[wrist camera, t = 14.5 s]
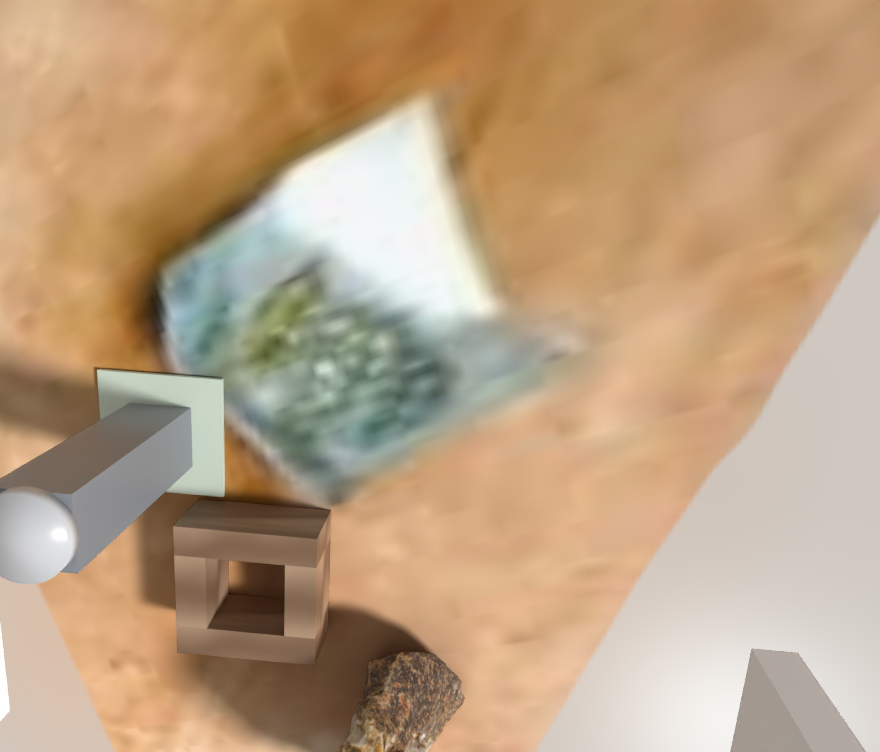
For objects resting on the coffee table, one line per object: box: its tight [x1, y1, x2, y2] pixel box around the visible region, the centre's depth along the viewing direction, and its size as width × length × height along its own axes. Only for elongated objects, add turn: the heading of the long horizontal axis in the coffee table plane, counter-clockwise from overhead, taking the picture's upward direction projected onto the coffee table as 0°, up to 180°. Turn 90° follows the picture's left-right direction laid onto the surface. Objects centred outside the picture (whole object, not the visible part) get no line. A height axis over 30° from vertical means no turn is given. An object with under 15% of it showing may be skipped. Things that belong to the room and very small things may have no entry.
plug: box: [0, 403, 193, 584], centre depth 43 cm, size 5×5×16 cm
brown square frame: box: [173, 499, 331, 666], centre depth 51 cm, size 10×10×4 cm
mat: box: [97, 369, 225, 497], centre depth 51 cm, size 9×9×1 cm
